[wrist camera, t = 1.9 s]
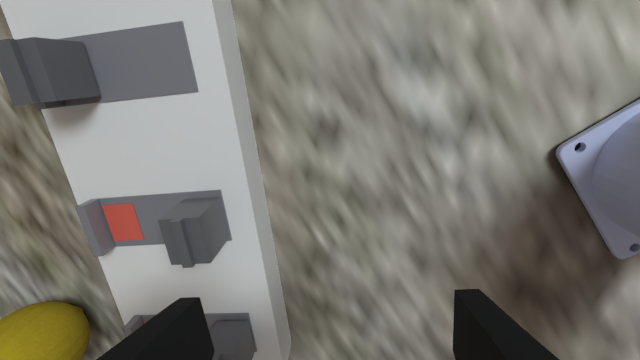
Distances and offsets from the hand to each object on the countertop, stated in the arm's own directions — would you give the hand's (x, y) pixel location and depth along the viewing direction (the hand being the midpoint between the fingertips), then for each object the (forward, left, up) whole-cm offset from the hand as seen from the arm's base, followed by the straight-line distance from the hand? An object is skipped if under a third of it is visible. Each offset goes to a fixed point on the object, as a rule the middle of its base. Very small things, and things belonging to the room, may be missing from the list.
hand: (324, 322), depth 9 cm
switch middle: (+6, -4, -7) cm, 10 cm away
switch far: (+10, +3, -8) cm, 13 cm away
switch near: (+6, -13, -7) cm, 16 cm away
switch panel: (+8, -5, -10) cm, 14 cm away
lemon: (+22, -4, -11) cm, 24 cm away
